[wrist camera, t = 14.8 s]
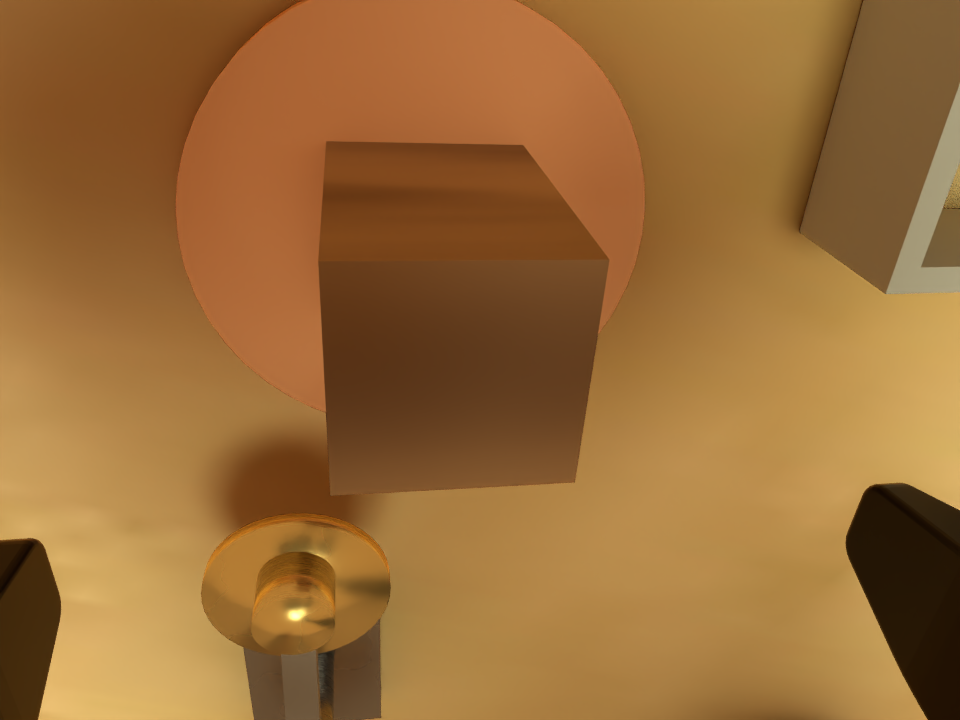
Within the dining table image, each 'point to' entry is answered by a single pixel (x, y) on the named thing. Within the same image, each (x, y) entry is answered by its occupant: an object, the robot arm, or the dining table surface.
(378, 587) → the balance
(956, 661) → the robot arm
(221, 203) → the dish
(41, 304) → the dining table surface
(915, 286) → the collar
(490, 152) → the block
